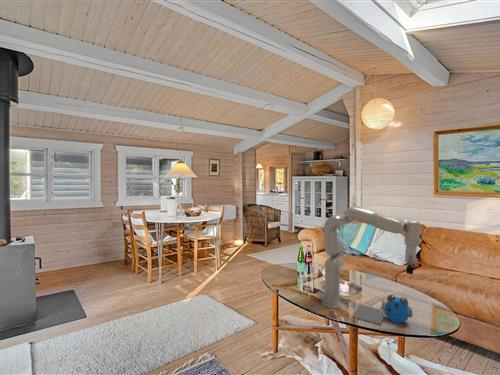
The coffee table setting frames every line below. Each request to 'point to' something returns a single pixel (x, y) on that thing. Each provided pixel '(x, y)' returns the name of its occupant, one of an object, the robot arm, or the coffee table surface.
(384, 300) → the tan egg shape
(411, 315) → the walnut block
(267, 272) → the coffee table surface
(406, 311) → the alarm clock
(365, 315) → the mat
